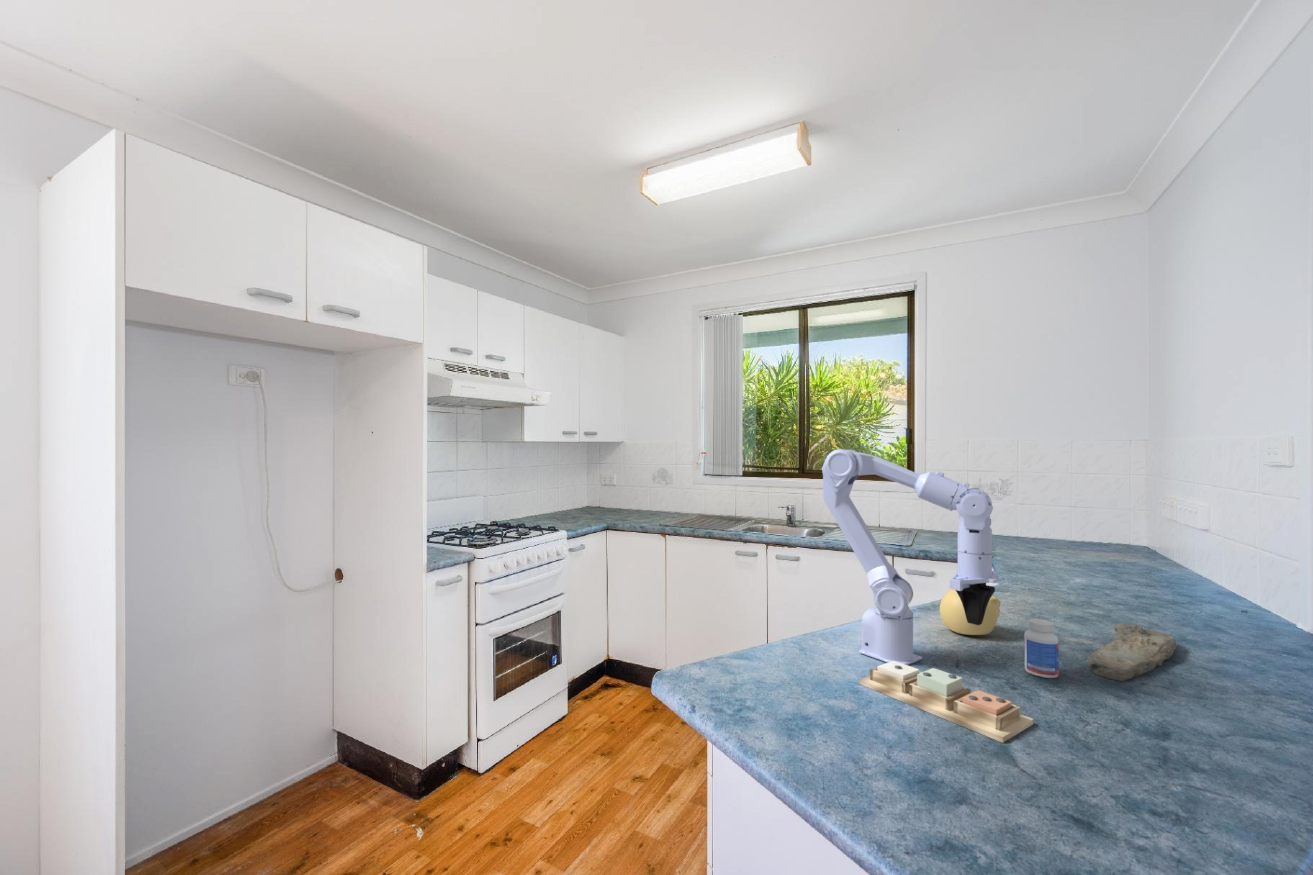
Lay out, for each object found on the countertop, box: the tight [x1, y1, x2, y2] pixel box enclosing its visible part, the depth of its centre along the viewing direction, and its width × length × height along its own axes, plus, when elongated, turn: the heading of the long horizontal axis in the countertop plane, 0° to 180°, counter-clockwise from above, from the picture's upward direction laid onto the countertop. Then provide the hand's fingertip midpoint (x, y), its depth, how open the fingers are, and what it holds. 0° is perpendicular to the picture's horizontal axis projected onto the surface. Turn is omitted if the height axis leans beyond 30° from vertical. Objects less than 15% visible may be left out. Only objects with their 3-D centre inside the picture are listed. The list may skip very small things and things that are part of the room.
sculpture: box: [939, 587, 1001, 636], centre depth 130 cm, size 12×12×11 cm
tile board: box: [858, 666, 1034, 744], centre depth 93 cm, size 24×10×3 cm, turn 34°
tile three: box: [962, 689, 1013, 716], centre depth 86 cm, size 5×5×3 cm
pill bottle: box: [1023, 618, 1060, 679], centre depth 106 cm, size 6×5×10 cm
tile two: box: [917, 667, 963, 697], centre depth 93 cm, size 5×5×3 cm
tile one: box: [876, 661, 920, 681], centre depth 99 cm, size 5×5×3 cm
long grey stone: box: [1087, 622, 1177, 682], centre depth 114 cm, size 35×5×10 cm
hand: (974, 623), depth 105 cm, fingers closed
